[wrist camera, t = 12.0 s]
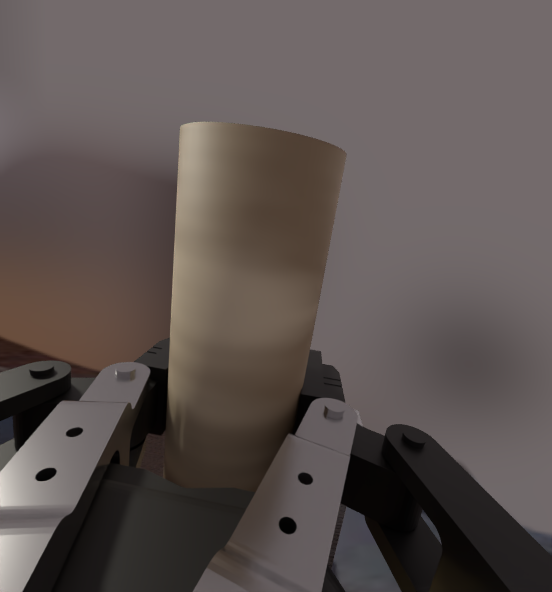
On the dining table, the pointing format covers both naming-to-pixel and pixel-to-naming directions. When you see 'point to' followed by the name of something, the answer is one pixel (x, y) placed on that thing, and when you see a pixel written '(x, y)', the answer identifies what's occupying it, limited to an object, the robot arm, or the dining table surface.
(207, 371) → the rail post
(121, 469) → the robot arm
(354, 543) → the dining table surface
